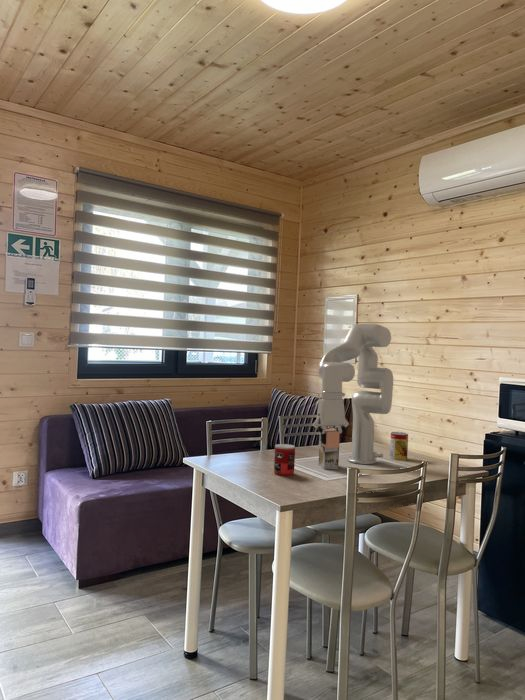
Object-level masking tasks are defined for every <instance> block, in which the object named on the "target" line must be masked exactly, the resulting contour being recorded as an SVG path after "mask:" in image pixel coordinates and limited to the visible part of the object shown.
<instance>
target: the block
mask: <svg viewBox="0 0 525 700" xmlns="http://www.w3.org/2000/svg"><path fill="white" fill-rule="evenodd" d="M335 429H336V428H335ZM335 429H326V431H325V434H326V444H322V446H324V447H326V448H337V447H339V448H340V444H339V435H340V432H339V431H337V430H335Z"/></svg>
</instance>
